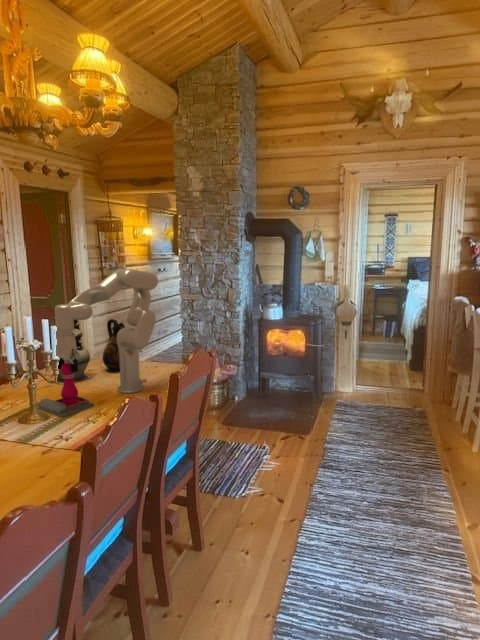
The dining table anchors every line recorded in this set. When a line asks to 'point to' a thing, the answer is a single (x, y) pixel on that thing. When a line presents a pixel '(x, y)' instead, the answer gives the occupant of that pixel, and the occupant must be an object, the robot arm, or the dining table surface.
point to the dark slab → (64, 406)
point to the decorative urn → (83, 357)
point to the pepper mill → (68, 385)
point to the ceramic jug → (112, 347)
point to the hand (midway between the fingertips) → (67, 370)
